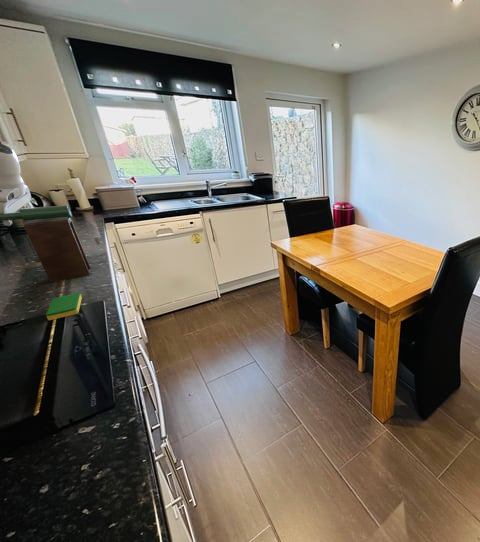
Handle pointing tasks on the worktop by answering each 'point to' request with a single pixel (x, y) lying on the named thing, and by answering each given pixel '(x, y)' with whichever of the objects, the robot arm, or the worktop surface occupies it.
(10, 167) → the robot arm
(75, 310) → the dish sponge
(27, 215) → the bottle
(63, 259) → the dark brown block
